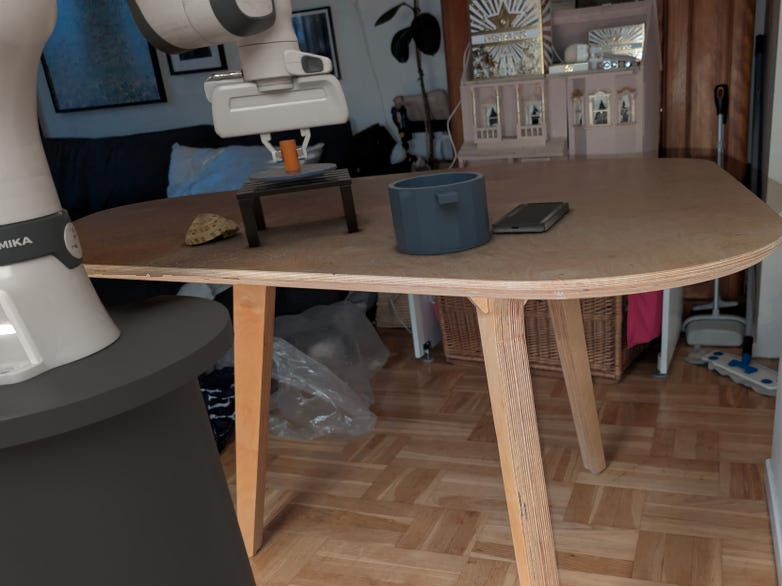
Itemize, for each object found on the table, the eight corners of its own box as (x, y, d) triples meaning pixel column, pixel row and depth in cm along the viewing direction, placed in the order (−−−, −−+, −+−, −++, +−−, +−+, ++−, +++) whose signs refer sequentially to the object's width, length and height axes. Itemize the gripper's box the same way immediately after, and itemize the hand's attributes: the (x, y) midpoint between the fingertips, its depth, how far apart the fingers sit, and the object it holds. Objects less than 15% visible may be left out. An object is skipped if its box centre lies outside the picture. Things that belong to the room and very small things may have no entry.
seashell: (247, 222, 114) (197, 211, 109) (242, 256, 115) (191, 247, 110) (232, 217, 120) (184, 206, 115) (227, 249, 121) (178, 240, 116)
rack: (247, 248, 106) (235, 194, 103) (256, 229, 120) (245, 181, 117) (360, 231, 108) (351, 179, 105) (355, 214, 123) (347, 168, 120)
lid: (246, 188, 104) (237, 149, 102) (254, 178, 116) (246, 143, 114) (338, 176, 106) (331, 138, 104) (336, 167, 118) (330, 132, 116)
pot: (405, 264, 86) (395, 196, 83) (391, 236, 103) (382, 178, 99) (504, 249, 88) (498, 181, 85) (475, 224, 105) (469, 166, 101)
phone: (570, 201, 107) (543, 223, 94) (570, 209, 107) (544, 231, 94) (520, 203, 109) (488, 225, 97) (521, 210, 110) (489, 233, 97)
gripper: (197, 73, 100) (220, 172, 106) (340, 58, 103) (356, 154, 109) (203, 74, 106) (225, 167, 111) (339, 59, 109) (354, 151, 114)
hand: (291, 161), depth 110 cm, fingers closed on lid, 2 cm apart
